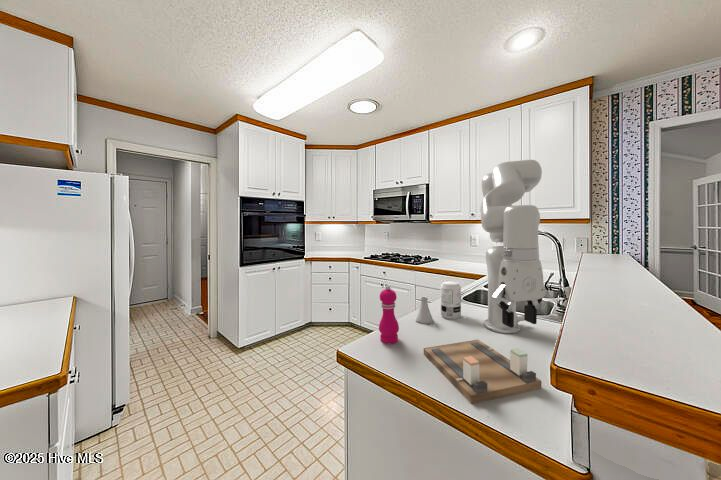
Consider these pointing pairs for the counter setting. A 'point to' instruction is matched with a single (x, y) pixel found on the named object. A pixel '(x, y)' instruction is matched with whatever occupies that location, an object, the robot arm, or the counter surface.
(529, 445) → the counter surface
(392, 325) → the pepper mill
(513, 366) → the sage-capped tab
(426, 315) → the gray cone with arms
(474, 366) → the terracotta-capped tab
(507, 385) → the wooden board
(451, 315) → the supplement can
